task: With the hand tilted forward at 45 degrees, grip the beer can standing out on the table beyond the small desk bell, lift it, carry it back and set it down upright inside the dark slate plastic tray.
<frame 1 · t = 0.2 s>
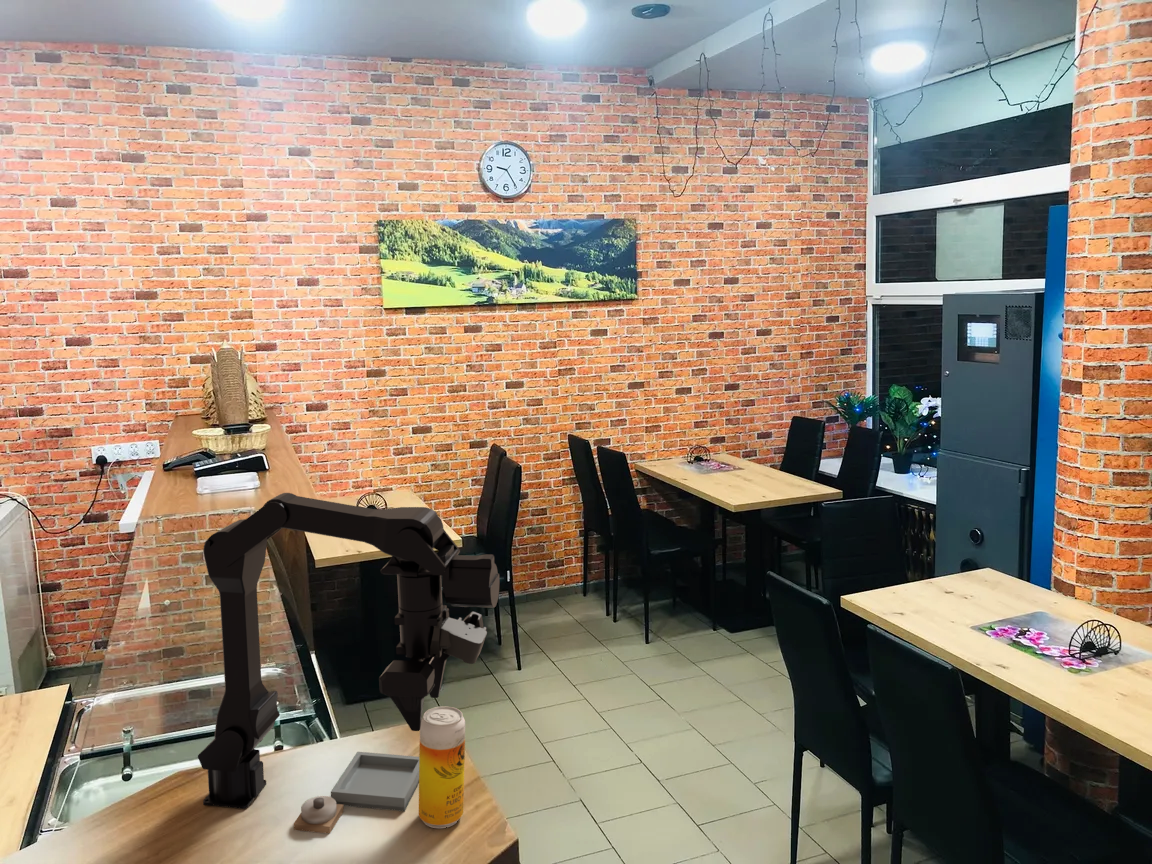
hand: (425, 713, 120), 15 cm above the table, tool pointing down, fingers open, 9 cm apart
desk bell: (319, 820, 120), on the table
tray: (380, 786, 129), on the table
beer can: (440, 818, 121), on the table
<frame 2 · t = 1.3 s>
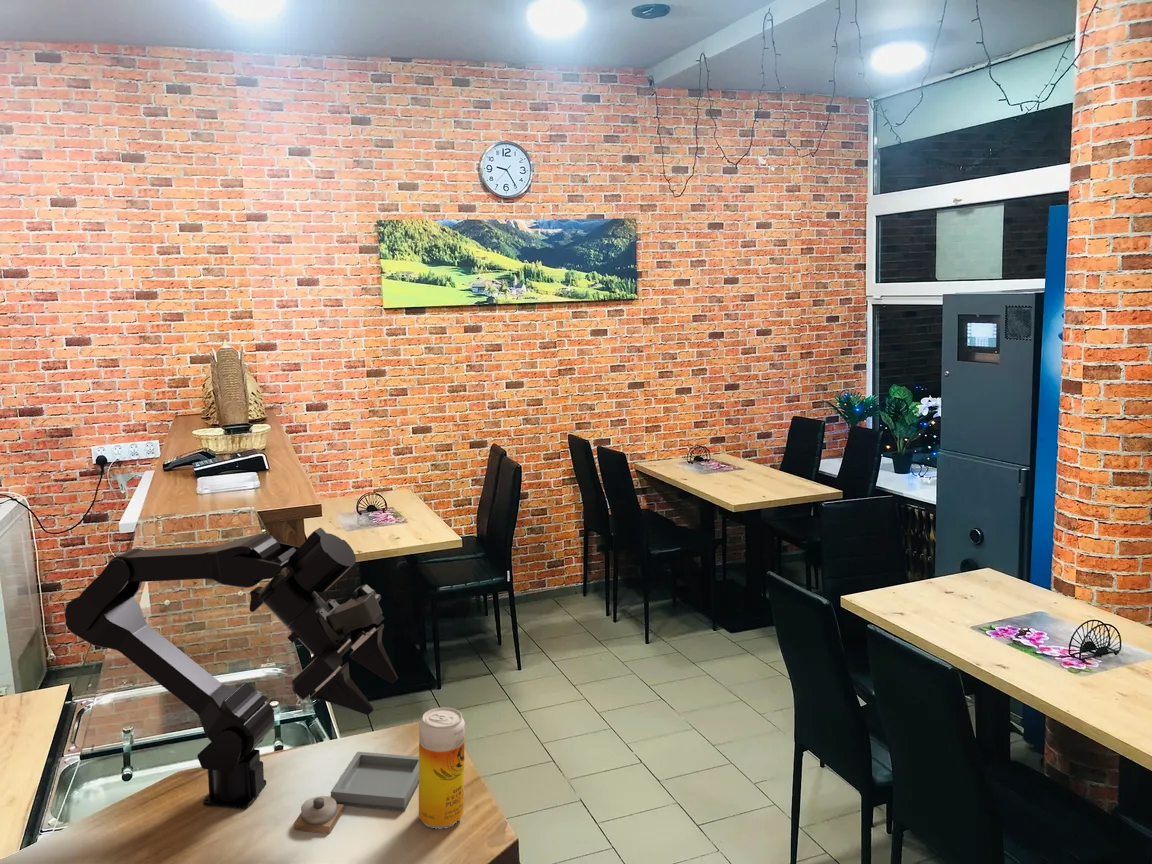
hand: (383, 695, 120), 17 cm above the table, tool tilted 45°, fingers open, 9 cm apart
nothing on the table moved.
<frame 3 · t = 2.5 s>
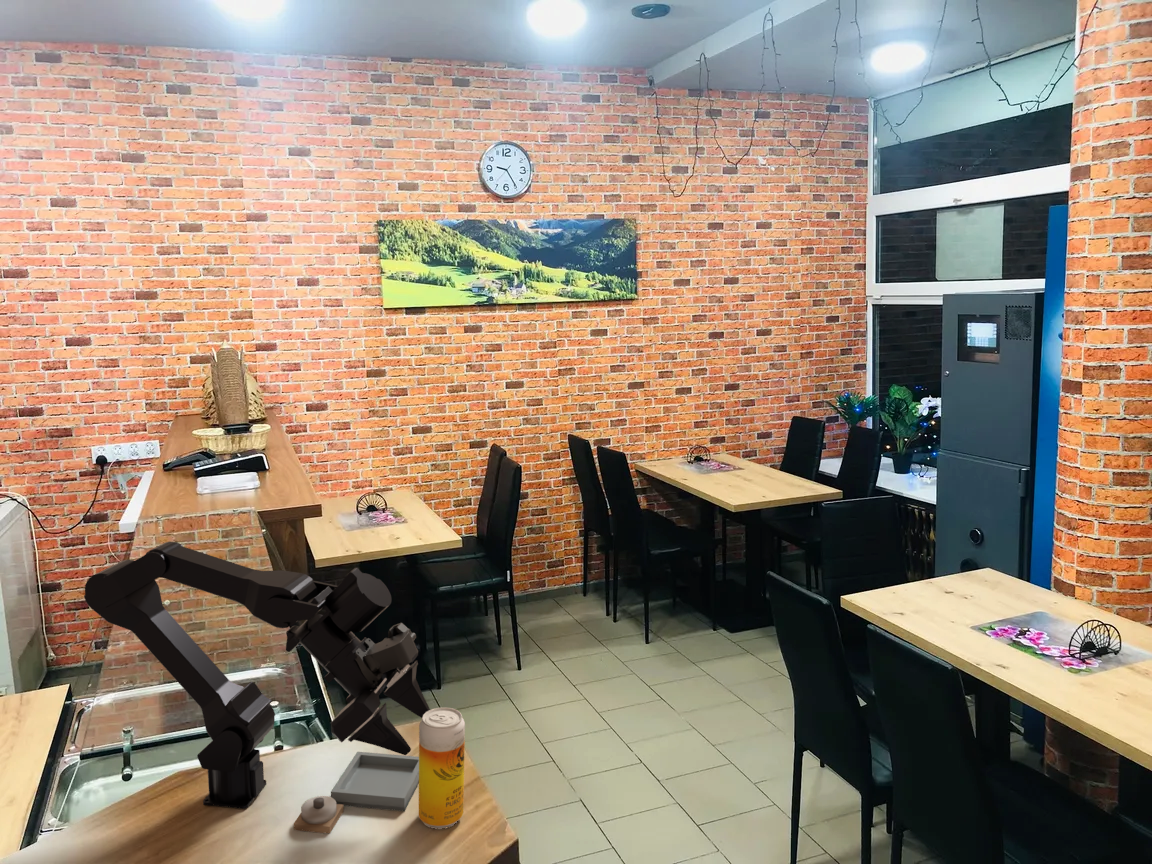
hand: (419, 734, 120), 12 cm above the table, tool tilted 45°, fingers open, 9 cm apart
nothing on the table moved.
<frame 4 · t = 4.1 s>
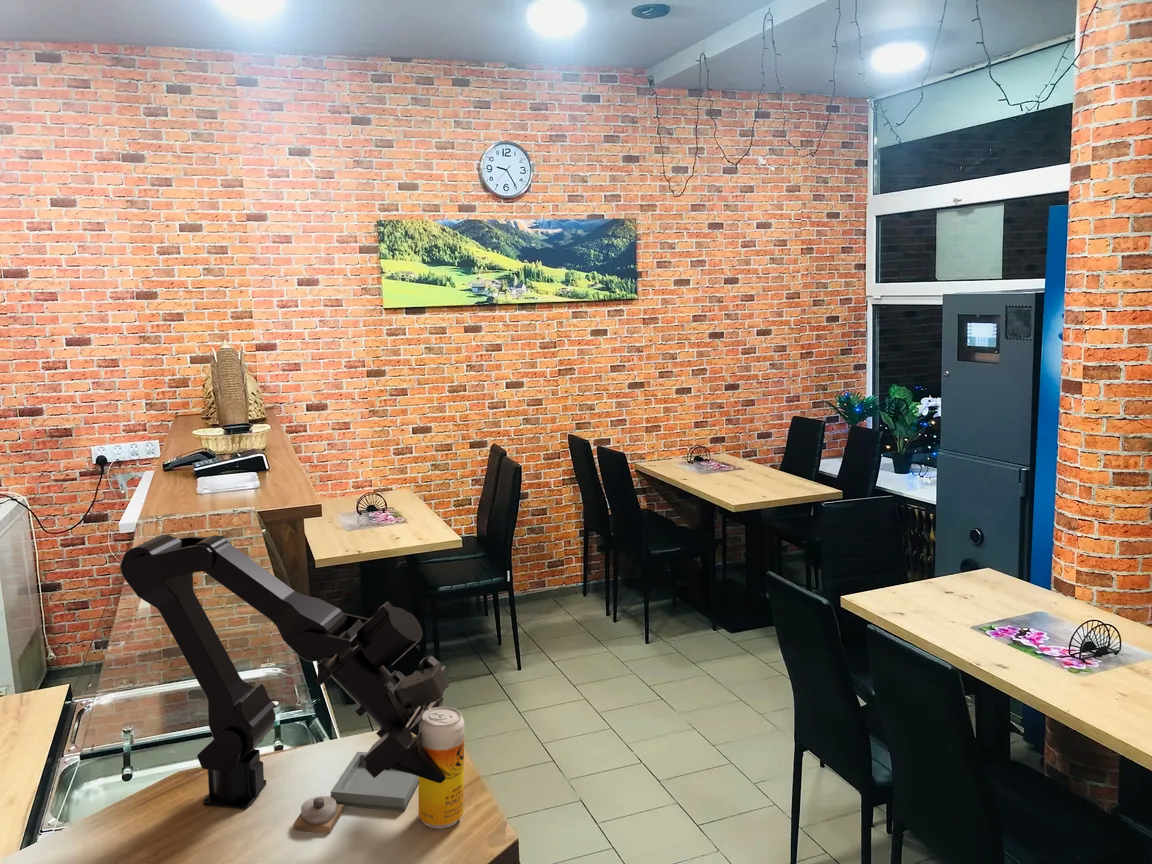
hand: (449, 768, 120), 8 cm above the table, tool tilted 45°, fingers closed on beer can, 6 cm apart
beer can: (440, 819, 121), on the table, touching gripper
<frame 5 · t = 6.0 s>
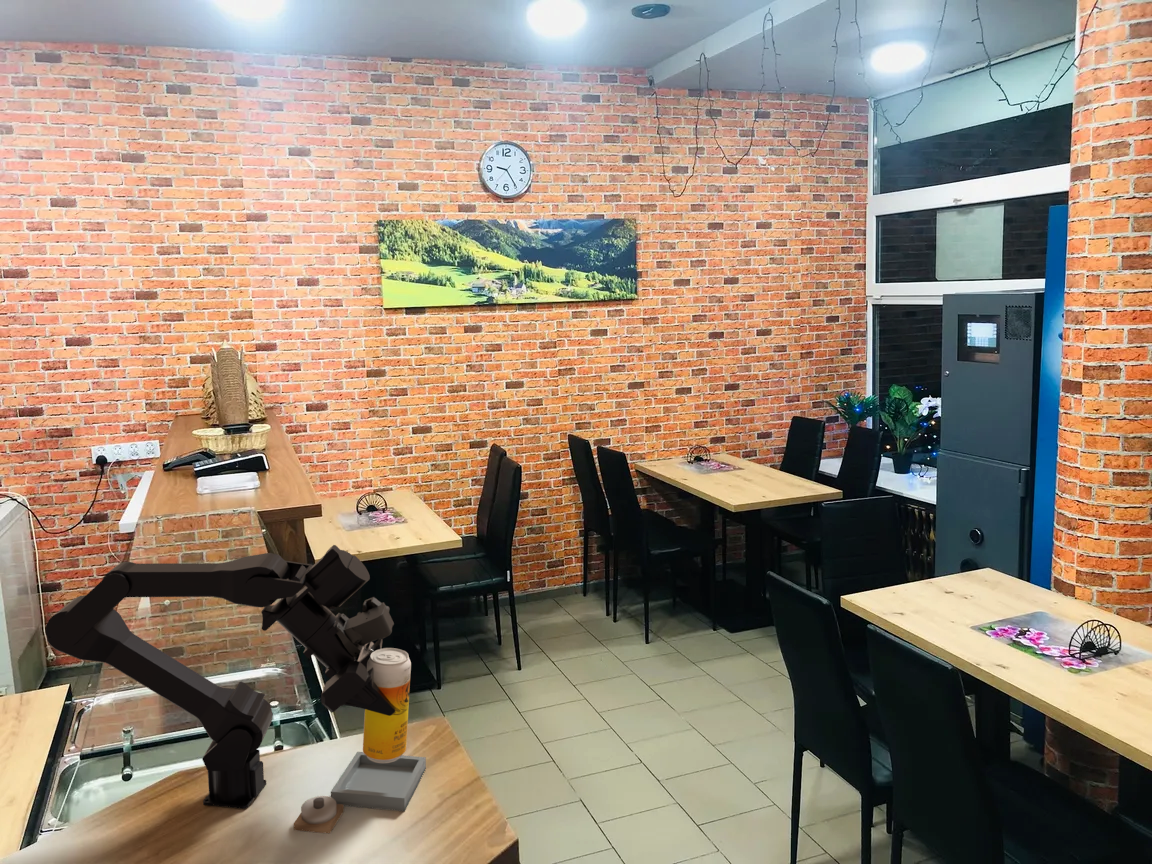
hand: (395, 702, 125), 14 cm above the table, tool tilted 45°, fingers closed on beer can, 6 cm apart
beer can: (384, 755, 127), point 5 cm above the table, touching gripper
when the fingers open (9 cm above the table, at t = 7.7 s): beer can stays where it is, resting on tray.
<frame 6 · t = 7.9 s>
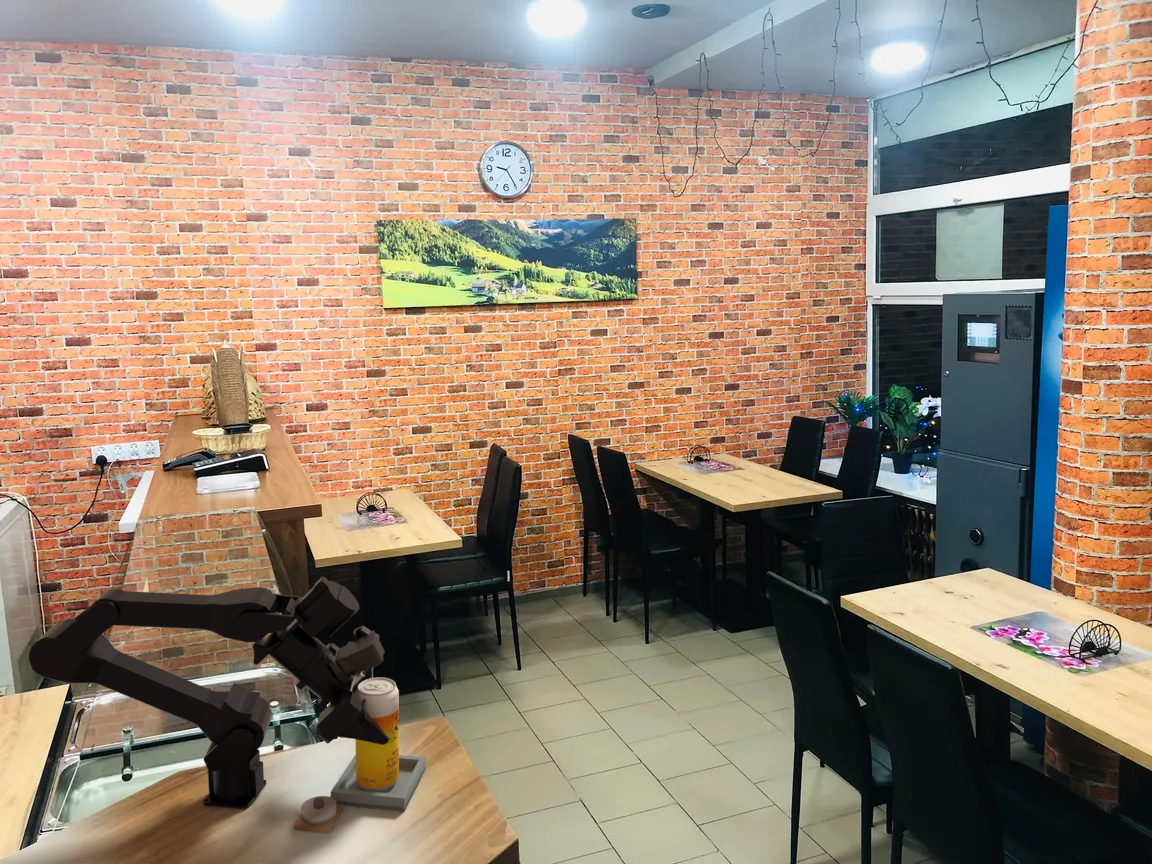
hand: (388, 728, 127), 9 cm above the table, tool tilted 45°, fingers open, 7 cm apart
beer can: (377, 783, 129), resting on tray
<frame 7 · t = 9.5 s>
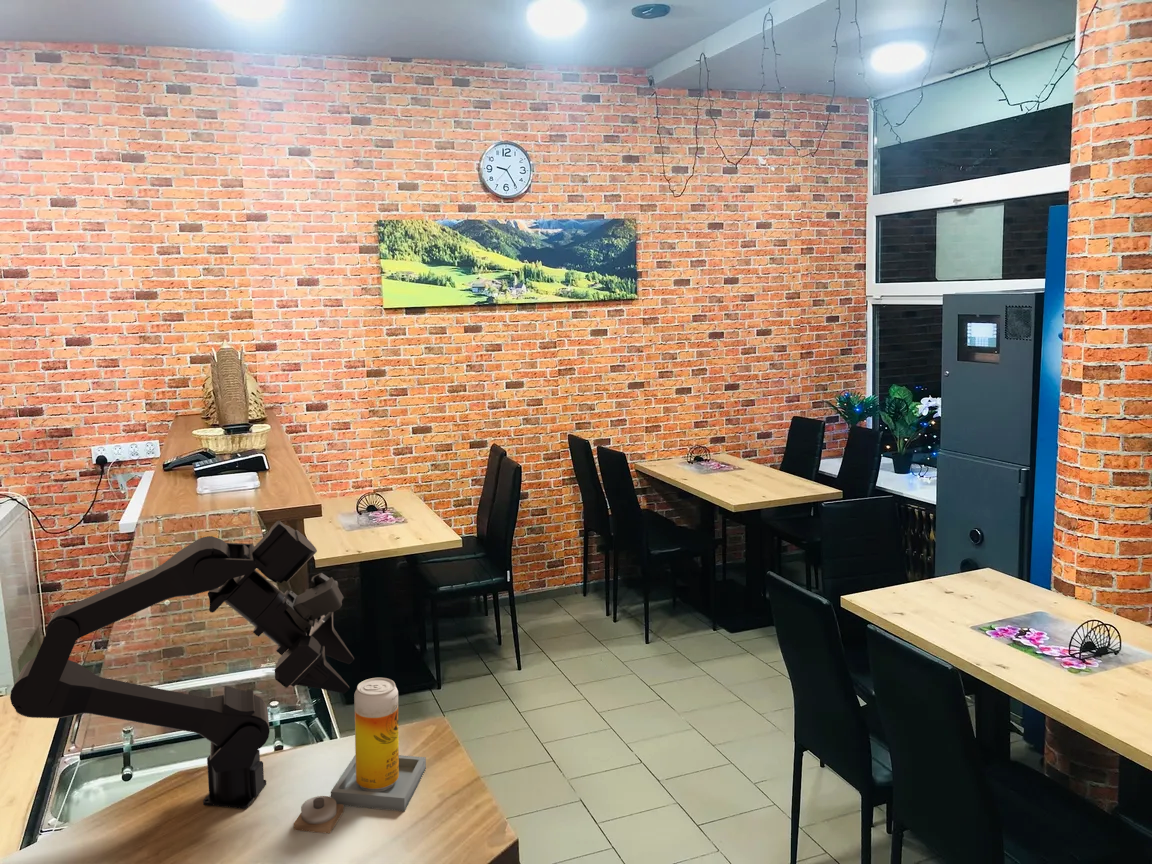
hand: (349, 675, 126), 17 cm above the table, tool tilted 45°, fingers open, 9 cm apart
nothing on the table moved.
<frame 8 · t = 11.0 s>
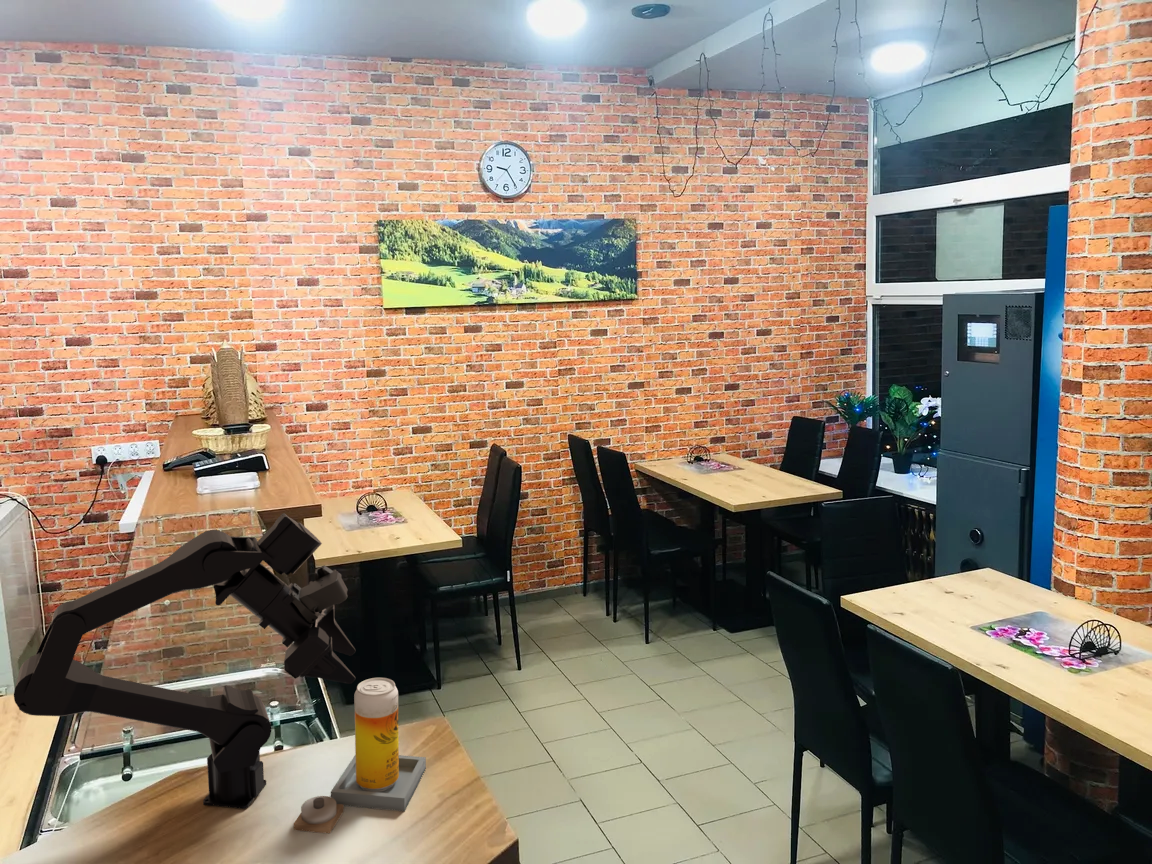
hand: (353, 666, 127), 18 cm above the table, tool tilted 45°, fingers open, 9 cm apart
nothing on the table moved.
at the end: beer can inside the target area on the tray (0.4 cm from its centre), point 0.4 cm above the tray's base; beer can tilted 0°; the gripper is holding nothing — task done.
